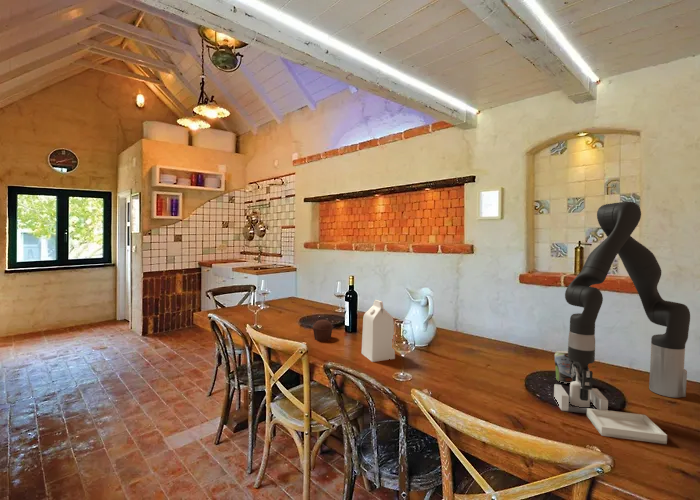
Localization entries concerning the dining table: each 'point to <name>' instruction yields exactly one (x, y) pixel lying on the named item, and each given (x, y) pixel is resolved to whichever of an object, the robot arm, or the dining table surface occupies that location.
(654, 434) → the tray
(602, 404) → the holder
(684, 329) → the robot arm
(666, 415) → the dining table surface
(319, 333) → the muffin
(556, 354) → the beverage can
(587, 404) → the eye dropper bottle
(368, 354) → the milk
